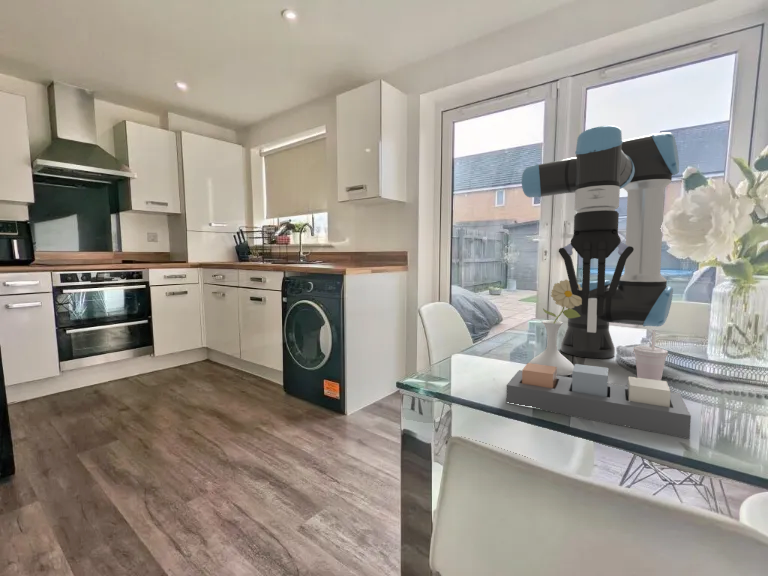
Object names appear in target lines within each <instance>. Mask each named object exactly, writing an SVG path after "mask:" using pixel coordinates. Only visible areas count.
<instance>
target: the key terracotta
mask: <svg viewBox="0 0 768 576" xmlns="http://www.w3.org/2000/svg"><path fill="white" fill-rule="evenodd" d="M556 383H557V367H554V366H547V365H539V364H532V363H529V362H527V363H526V364H525V366H524V367H523V369H522V384H528V385H534V386H541V387H547V388H553V389H555V388H556Z"/></svg>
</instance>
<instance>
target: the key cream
mask: <svg viewBox="0 0 768 576" xmlns="http://www.w3.org/2000/svg"><path fill="white" fill-rule="evenodd" d="M627 382H628V383H627V386H628V400H627V401H633V402H639V403H646V404H652V405H658V406H664V407H670V392H671V389H670V387H669V384H668V381H666V380H661V381H660V380H652V379H645V378H638V377H635V376H628V381H627Z"/></svg>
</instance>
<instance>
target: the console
mask: <svg viewBox="0 0 768 576" xmlns="http://www.w3.org/2000/svg"><path fill="white" fill-rule="evenodd" d="M522 370H523V369H522ZM522 370H521V369H520V370H517V372H516V373H515V374H514V375H513V377H512V378H511V379H510V380H509V381H508V382H507V384H506V394H505V395H506V396H505V397H506V402H509V403H514V404H519V405H525V406H532V407H536V408H540V409H542V410H541V411H543V410H547V411H546V412H548V411H552V412H551V413H553V412H556V413H555V414H559V413H562V414H561V415H564V414H566V415H565V416H569V415H570V416H569V417H574V416H575V418H579V417H580V419H585V420H589V421H590V420H591V421H596V422H600V421H601V423H605V422H606V424H610V423H611V425H616V424H618V425H617V426H621V425H626V426H630V427H629V428H631V427H634V428H633V429H636V428H638V429H637V430H641V429H642V430H641V431H648V432H653V433H659V434H662V435H667V436H673V437H679V438H684V439H689V440H690V437H691V422H692V421H691V420H692V415H691V413H690V411H689V409H688V407H687V405H686V403H685V401H684V399H683V397H682V395H681V393H680V392H679V393H678V392H673V391H670V407H664V406H658V405H652V404H646V403H639V402H633V401H627V400H628V385H624V384H617V383H611V382H608V386H607V397H602V396H596V395H590V394H584V393H578V392H572V377H570V376H569V377H568V376H557V383H556V388H555V389H553V388H547V387H541V386H534V385H528V384H522ZM626 426H625V427H626Z"/></svg>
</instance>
